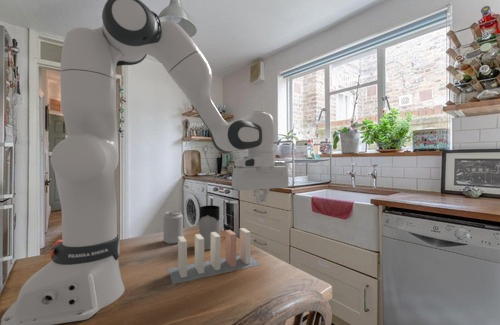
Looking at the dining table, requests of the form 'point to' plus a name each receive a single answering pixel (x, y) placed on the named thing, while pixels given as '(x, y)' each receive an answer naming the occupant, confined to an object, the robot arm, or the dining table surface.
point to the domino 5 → (245, 245)
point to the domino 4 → (231, 248)
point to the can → (173, 226)
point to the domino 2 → (199, 253)
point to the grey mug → (209, 223)
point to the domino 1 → (182, 256)
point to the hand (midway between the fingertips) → (261, 202)
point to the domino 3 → (215, 251)
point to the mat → (209, 269)
